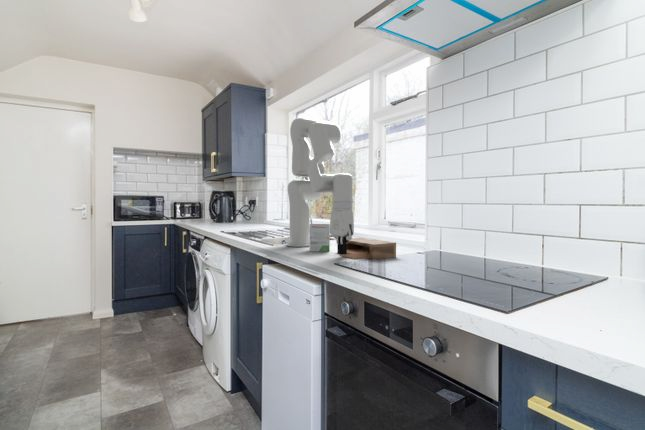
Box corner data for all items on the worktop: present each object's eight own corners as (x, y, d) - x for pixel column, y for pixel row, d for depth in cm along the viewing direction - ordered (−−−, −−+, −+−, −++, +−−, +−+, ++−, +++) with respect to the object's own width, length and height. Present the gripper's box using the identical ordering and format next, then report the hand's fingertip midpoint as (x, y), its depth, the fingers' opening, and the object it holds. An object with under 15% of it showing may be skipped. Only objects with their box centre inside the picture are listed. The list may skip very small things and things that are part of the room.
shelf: (338, 252, 146) (339, 238, 145) (359, 250, 152) (360, 237, 152) (373, 259, 127) (373, 244, 127) (395, 257, 133) (396, 242, 133)
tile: (340, 256, 137) (340, 250, 137) (368, 254, 144) (368, 248, 144) (353, 259, 129) (353, 253, 129) (382, 257, 136) (382, 250, 136)
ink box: (309, 251, 148) (309, 223, 147) (310, 249, 153) (310, 223, 153) (329, 251, 147) (329, 224, 147) (330, 250, 152) (330, 223, 152)
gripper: (323, 206, 137) (323, 252, 137) (345, 206, 124) (345, 257, 125) (339, 206, 141) (338, 251, 141) (362, 206, 128) (362, 256, 129)
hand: (342, 254), depth 133 cm, fingers closed
